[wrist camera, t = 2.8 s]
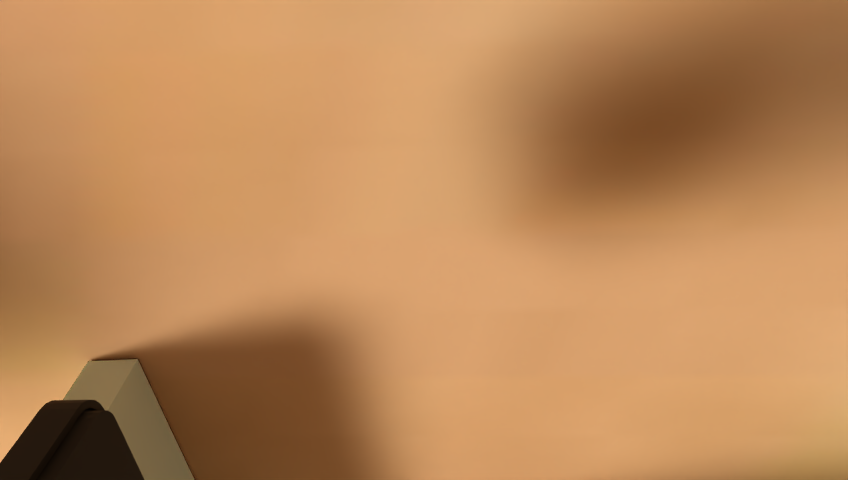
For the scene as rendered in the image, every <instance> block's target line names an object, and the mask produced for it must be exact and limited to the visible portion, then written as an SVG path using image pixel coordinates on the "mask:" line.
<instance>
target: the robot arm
mask: <svg viewBox="0 0 848 480" xmlns="http://www.w3.org/2000/svg"><path fill="white" fill-rule="evenodd" d="M0 480H144V477H143V475H142V473H141V471H140V469H139V467H138V465H137V463H136V461H135V458H134V456H133V454H132V452H131V450H130V448H129V446H128V444H127V442H126V439H125V437H124V435H123V433H122V431H121V429H120V427H119V425H118V423H117V421H116V418H115V417H114V415H113V414H112V413H111V412H110V411H107V410H104V408H103V407H102V405H101V404H100V403H99V402H97V401H96V400H56V401H50V402H48V403H46V404H45V405H44V406H43V407H42V408H41V409H40V410H39V412H38V413H37V414H36V416H35V417H34V418H33V420H32V421H31V422H30V424H29V425H28V426H27V428H26V429H25V430H24V432H23V433H22V435H21V436H20V437H19V439H18V440H17V441H16V443H15V444H14V445H13V447H12V448H11V449H10V451H9V452H8V453H7V455H6V456H5V457H4V459H3V460H2V461H1V463H0Z"/></svg>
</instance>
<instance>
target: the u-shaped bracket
mask: <svg viewBox="0 0 848 480" xmlns="http://www.w3.org/2000/svg"><path fill="white" fill-rule="evenodd" d="M63 400H96V401H97V402H99V403H100V404H101V405H102V407H103V408H104V410H107V411H110V412H111V413H112V414H113V415H114V417H115V418H116V421H117V423H118V425H119V427H120V429H121V431H122V433H123V435H124V437H125V439H126V442H127V444H128V446H129V448H130V450H131V452H132V454H133V456H134V458H135V461H136V463H137V465H138V467H139V469H140V471H141V473H142V475H143V477H144V480H194V478H193V475H192V473H191V471H190V469H189V467H188V465H187V463H186V461H185V458H184V456H183V454H182V452H181V450H180V448H179V446H178V444H177V442H176V439H175V437H174V435H173V433H172V431H171V429H170V427H169V425H168V422H167V420H166V418H165V416H164V414H163V412H162V410H161V408H160V405H159V403H158V401H157V399H156V397H155V395H154V393H153V391H152V389H151V386H150V384H149V382H148V380H147V378H146V376H145V374H144V372H143V369H142V367H141V365H140V363H139V361H138V359H128V360H105V361H88V362H87V364H86V365H85V367H84V368H83V370H82V372H81V373H80V375H79V376H78V378H77V379H76V381H75V382H74V384H73V385H72V387H71V388H70V390H69V391H68V393H67V394H66V396H65V397H64V399H63Z"/></svg>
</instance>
